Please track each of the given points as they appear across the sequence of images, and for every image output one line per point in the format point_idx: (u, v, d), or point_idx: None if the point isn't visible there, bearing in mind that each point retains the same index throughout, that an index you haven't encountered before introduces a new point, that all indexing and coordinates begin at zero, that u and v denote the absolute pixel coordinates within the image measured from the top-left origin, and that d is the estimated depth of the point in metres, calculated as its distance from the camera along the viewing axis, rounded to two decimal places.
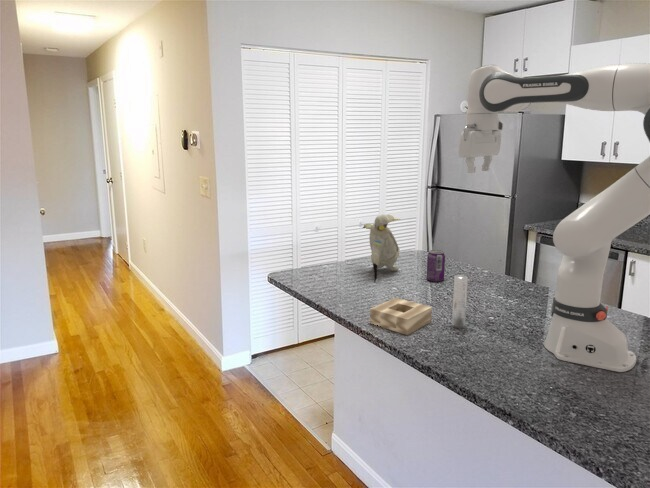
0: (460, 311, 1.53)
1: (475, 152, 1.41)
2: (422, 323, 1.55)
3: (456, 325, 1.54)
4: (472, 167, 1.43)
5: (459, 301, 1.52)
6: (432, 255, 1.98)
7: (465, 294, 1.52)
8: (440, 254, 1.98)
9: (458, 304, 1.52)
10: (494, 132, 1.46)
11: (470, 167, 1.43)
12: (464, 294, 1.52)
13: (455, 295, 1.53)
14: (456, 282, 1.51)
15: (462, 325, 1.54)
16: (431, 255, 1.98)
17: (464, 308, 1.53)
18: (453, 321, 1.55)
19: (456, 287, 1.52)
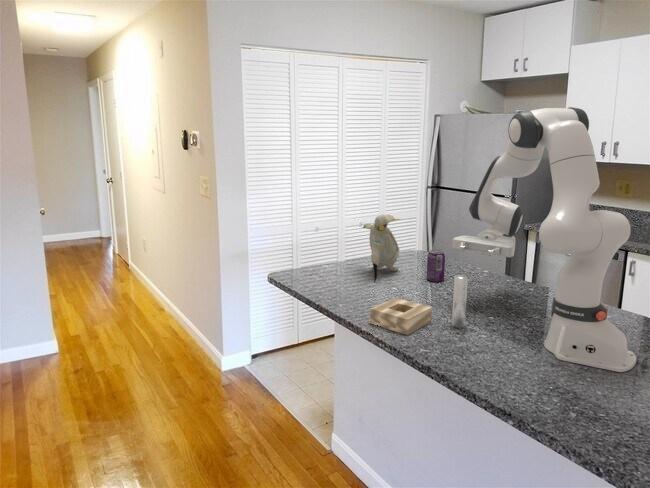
0: (460, 311, 1.53)
1: (463, 239, 1.68)
2: (422, 323, 1.55)
3: (456, 325, 1.54)
4: (461, 245, 1.64)
5: (459, 301, 1.52)
6: (432, 255, 1.98)
7: (465, 294, 1.52)
8: (440, 254, 1.98)
9: (458, 304, 1.52)
10: (498, 237, 1.67)
11: None
12: (464, 294, 1.52)
13: (455, 295, 1.53)
14: (456, 282, 1.51)
15: (462, 325, 1.54)
16: (431, 255, 1.98)
17: (464, 308, 1.53)
18: (453, 321, 1.55)
19: (456, 287, 1.52)
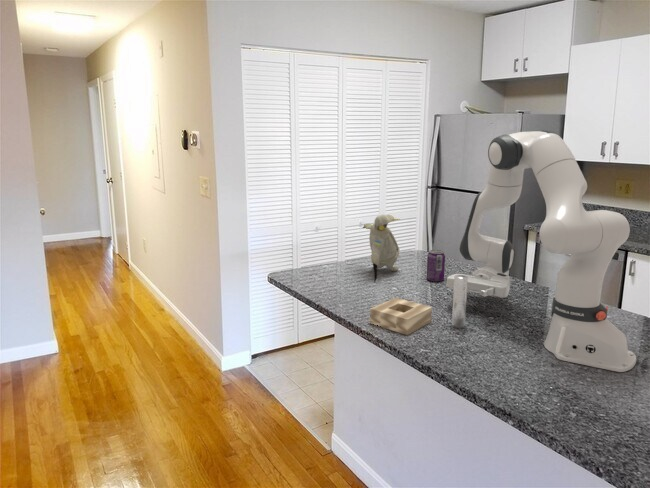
0: (460, 311, 1.53)
1: None
2: (422, 323, 1.55)
3: (456, 325, 1.54)
4: None
5: (459, 301, 1.52)
6: (432, 255, 1.98)
7: (465, 294, 1.52)
8: (440, 254, 1.98)
9: (458, 304, 1.52)
10: (492, 276, 1.65)
11: None
12: (464, 294, 1.52)
13: (455, 295, 1.53)
14: (456, 282, 1.51)
15: (462, 325, 1.54)
16: (431, 255, 1.98)
17: (464, 308, 1.53)
18: (453, 321, 1.55)
19: (456, 287, 1.52)
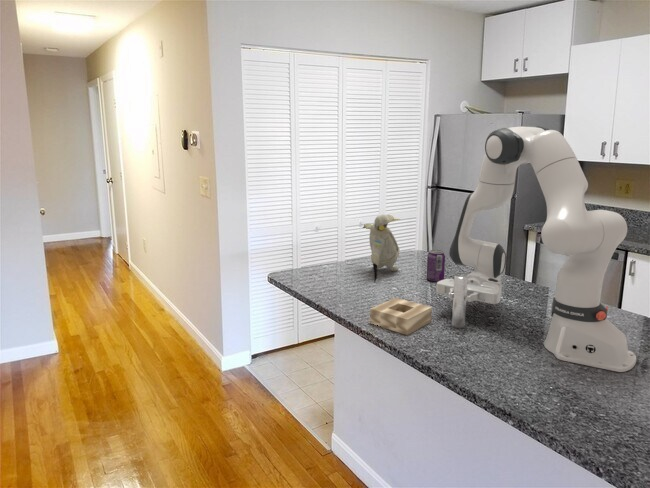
0: (460, 311, 1.53)
1: (447, 283, 1.61)
2: (422, 323, 1.55)
3: (456, 325, 1.54)
4: None
5: (459, 301, 1.52)
6: (432, 255, 1.98)
7: (465, 294, 1.52)
8: (440, 254, 1.98)
9: (458, 304, 1.52)
10: (483, 282, 1.59)
11: None
12: (464, 294, 1.52)
13: (455, 295, 1.53)
14: (456, 282, 1.51)
15: (462, 325, 1.54)
16: (431, 255, 1.98)
17: (464, 308, 1.53)
18: (453, 321, 1.55)
19: (456, 287, 1.52)
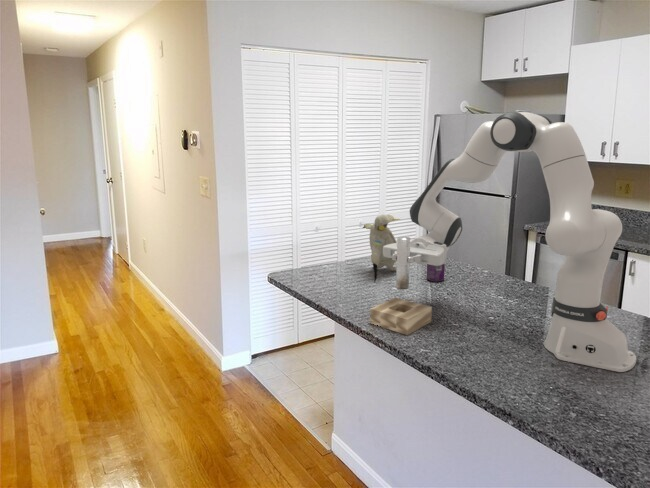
0: (403, 273, 1.53)
1: (393, 246, 1.61)
2: (422, 323, 1.55)
3: (399, 287, 1.54)
4: (394, 254, 1.56)
5: (402, 262, 1.52)
6: None
7: (408, 255, 1.52)
8: None
9: (401, 266, 1.53)
10: (428, 245, 1.59)
11: None
12: (406, 255, 1.52)
13: (398, 256, 1.53)
14: (398, 243, 1.52)
15: (405, 287, 1.54)
16: None
17: (407, 270, 1.53)
18: (397, 283, 1.55)
19: (398, 248, 1.52)
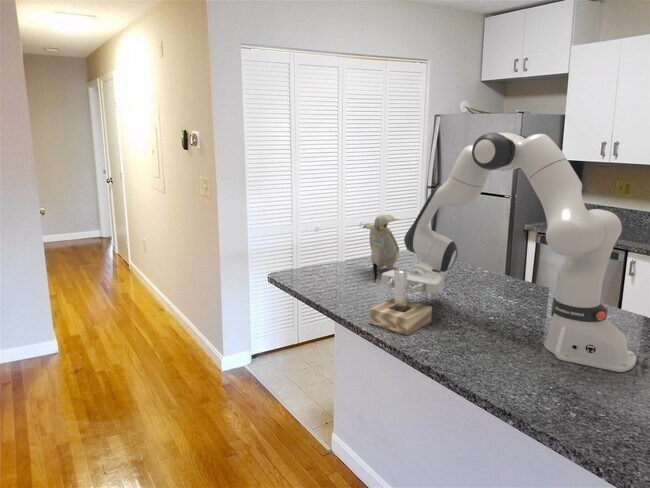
0: (401, 305, 1.55)
1: (391, 274, 1.63)
2: (422, 323, 1.55)
3: None
4: None
5: (400, 295, 1.54)
6: None
7: (405, 288, 1.54)
8: None
9: (399, 298, 1.55)
10: (426, 272, 1.61)
11: None
12: (404, 288, 1.54)
13: (395, 289, 1.55)
14: (396, 276, 1.54)
15: None
16: None
17: (405, 302, 1.55)
18: None
19: (395, 281, 1.54)
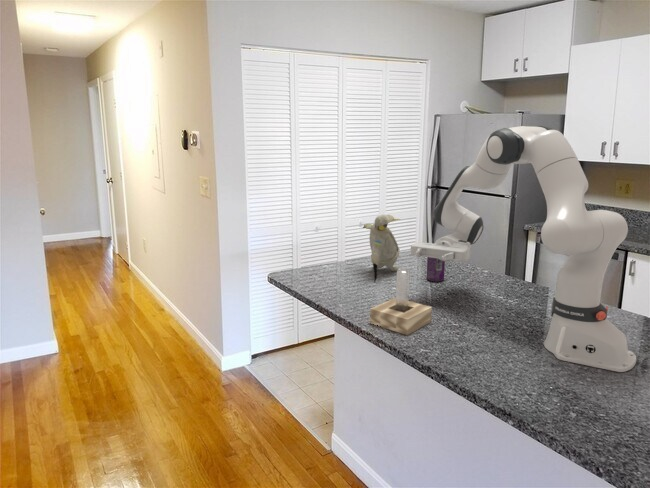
0: (402, 305, 1.55)
1: (420, 245, 1.74)
2: (422, 323, 1.55)
3: None
4: (417, 251, 1.70)
5: (401, 295, 1.54)
6: None
7: (407, 288, 1.54)
8: None
9: (400, 298, 1.55)
10: (453, 243, 1.72)
11: None
12: (406, 288, 1.54)
13: (397, 289, 1.55)
14: (398, 276, 1.54)
15: None
16: None
17: (406, 302, 1.55)
18: None
19: (398, 281, 1.54)
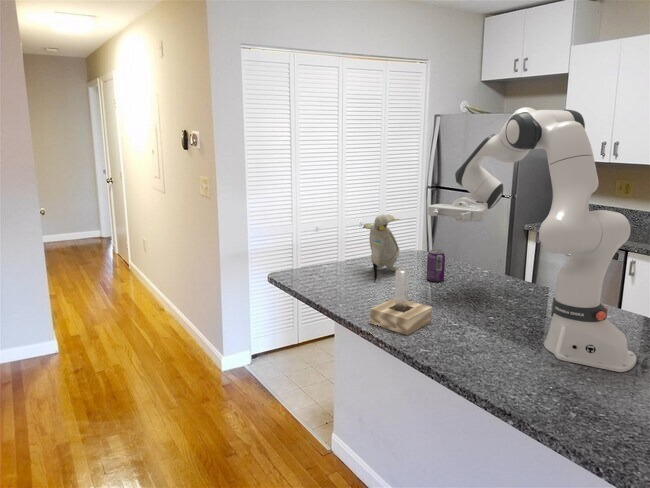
0: (402, 305, 1.55)
1: (437, 206, 1.75)
2: (422, 323, 1.55)
3: None
4: (435, 211, 1.72)
5: (400, 294, 1.55)
6: (432, 255, 1.98)
7: (406, 288, 1.55)
8: (440, 254, 1.98)
9: (399, 298, 1.55)
10: (470, 204, 1.74)
11: None
12: (405, 287, 1.54)
13: (396, 289, 1.55)
14: (397, 276, 1.54)
15: None
16: (431, 255, 1.98)
17: (405, 302, 1.55)
18: None
19: (397, 281, 1.55)
